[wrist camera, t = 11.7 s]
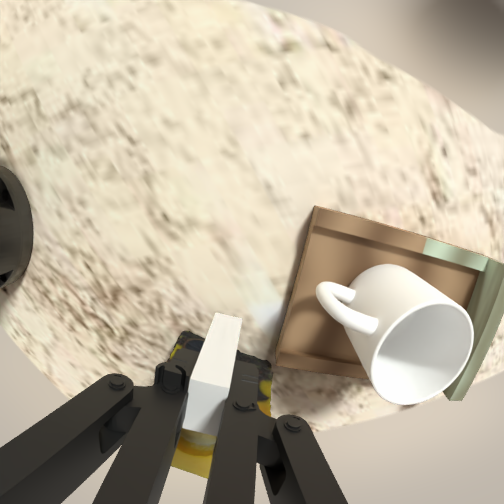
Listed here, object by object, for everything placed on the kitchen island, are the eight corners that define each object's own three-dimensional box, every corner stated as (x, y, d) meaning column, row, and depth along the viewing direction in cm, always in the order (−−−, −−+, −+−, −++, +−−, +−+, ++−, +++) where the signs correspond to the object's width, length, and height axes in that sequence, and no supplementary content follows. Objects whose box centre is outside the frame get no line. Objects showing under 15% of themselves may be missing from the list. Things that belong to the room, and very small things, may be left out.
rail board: (275, 350, 32) (277, 384, 26) (314, 205, 29) (327, 211, 23) (440, 373, 32) (461, 400, 27) (486, 256, 29) (518, 270, 23)
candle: (240, 424, 35) (233, 488, 25) (159, 396, 34) (133, 454, 24) (274, 360, 32) (277, 424, 23) (182, 326, 32) (153, 381, 22)
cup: (391, 353, 30) (431, 413, 20) (287, 312, 29) (298, 374, 19) (432, 281, 28) (491, 322, 18) (329, 229, 27) (363, 256, 17)
